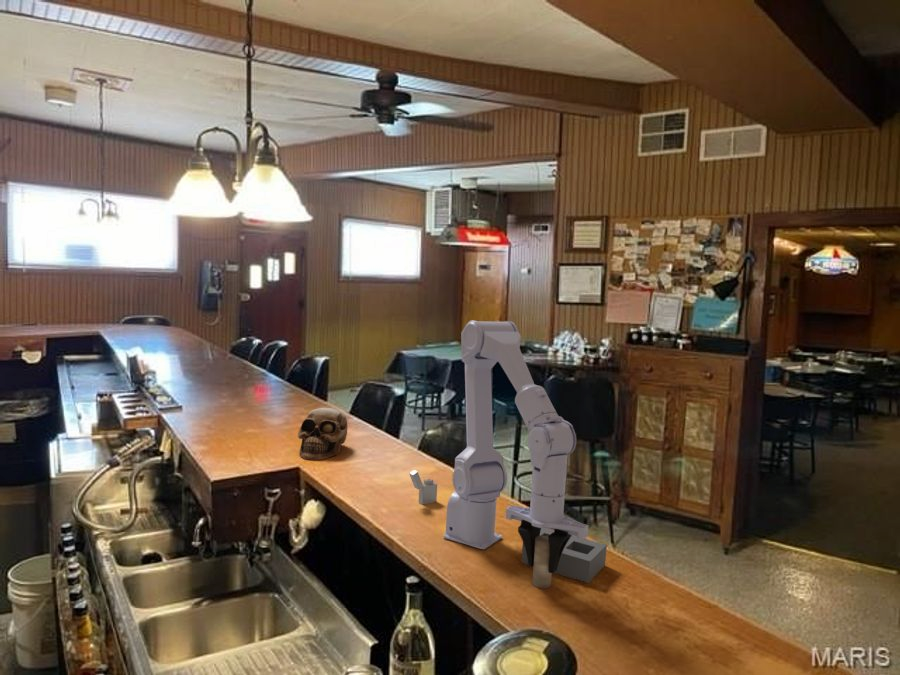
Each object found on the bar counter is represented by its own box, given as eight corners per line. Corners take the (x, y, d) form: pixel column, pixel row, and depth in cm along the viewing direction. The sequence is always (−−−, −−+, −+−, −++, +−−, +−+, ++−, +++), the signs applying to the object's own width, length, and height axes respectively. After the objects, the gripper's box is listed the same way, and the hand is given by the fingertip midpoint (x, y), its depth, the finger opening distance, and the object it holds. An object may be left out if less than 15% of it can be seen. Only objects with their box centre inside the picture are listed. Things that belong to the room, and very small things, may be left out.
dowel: (529, 584, 112) (532, 540, 111) (536, 578, 115) (539, 534, 114) (546, 590, 110) (549, 545, 109) (553, 583, 113) (556, 539, 112)
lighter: (432, 499, 152) (434, 466, 151) (436, 501, 151) (438, 468, 150) (407, 504, 148) (409, 470, 147) (411, 506, 146) (413, 472, 145)
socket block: (521, 562, 120) (522, 541, 120) (541, 546, 128) (542, 527, 128) (588, 583, 114) (590, 561, 113) (605, 565, 121) (606, 544, 121)
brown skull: (304, 460, 176) (306, 411, 177) (288, 451, 191) (290, 405, 192) (359, 458, 184) (361, 410, 184) (339, 448, 199) (340, 405, 199)
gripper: (499, 488, 111) (494, 564, 113) (579, 507, 104) (573, 589, 105) (517, 478, 117) (512, 550, 119) (594, 496, 110) (588, 573, 111)
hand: (542, 567), depth 112 cm, fingers closed on dowel, 3 cm apart
